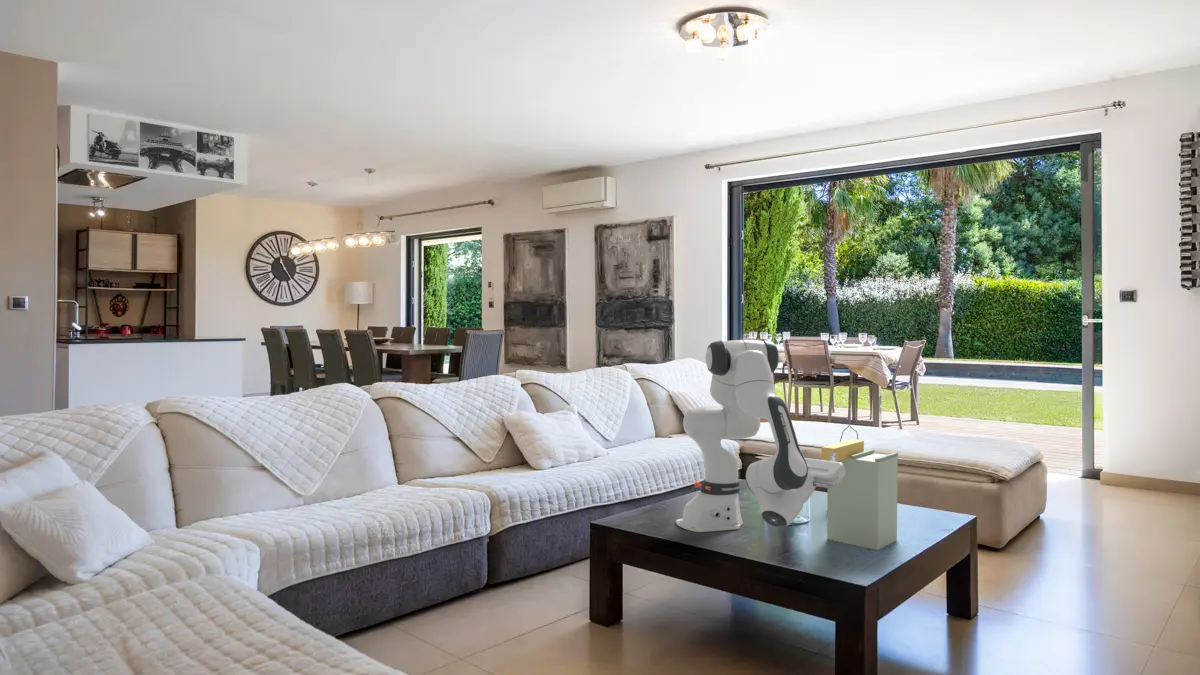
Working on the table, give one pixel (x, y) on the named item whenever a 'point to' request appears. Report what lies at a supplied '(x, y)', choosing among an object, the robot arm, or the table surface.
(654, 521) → the table surface
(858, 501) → the sage green slotted block
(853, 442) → the bar
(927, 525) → the table surface
